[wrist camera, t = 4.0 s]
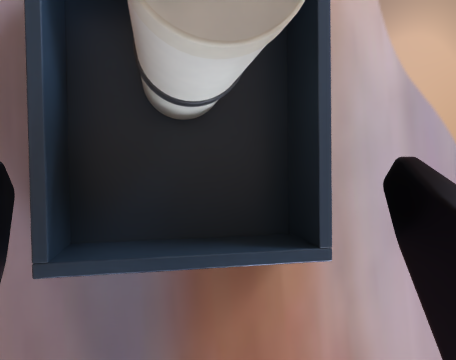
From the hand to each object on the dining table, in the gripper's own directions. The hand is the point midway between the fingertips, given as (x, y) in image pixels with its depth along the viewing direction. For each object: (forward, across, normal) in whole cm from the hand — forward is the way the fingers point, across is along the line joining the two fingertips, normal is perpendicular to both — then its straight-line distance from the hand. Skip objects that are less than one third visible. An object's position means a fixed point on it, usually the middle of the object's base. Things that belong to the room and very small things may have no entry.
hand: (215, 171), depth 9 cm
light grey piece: (+11, 0, +4) cm, 12 cm away
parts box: (+10, 0, +6) cm, 12 cm away
